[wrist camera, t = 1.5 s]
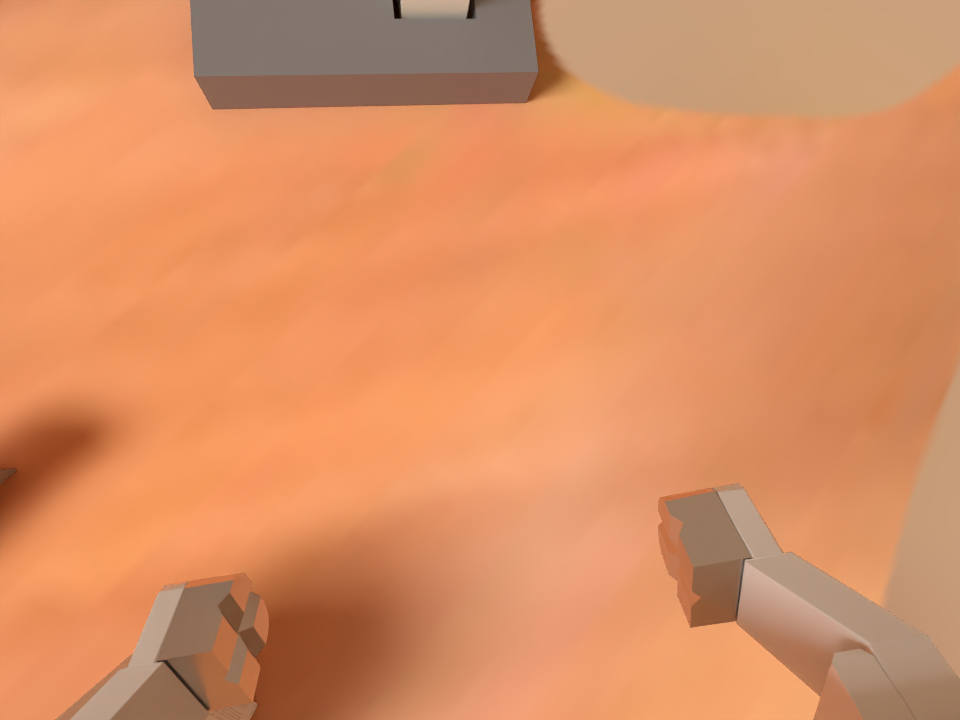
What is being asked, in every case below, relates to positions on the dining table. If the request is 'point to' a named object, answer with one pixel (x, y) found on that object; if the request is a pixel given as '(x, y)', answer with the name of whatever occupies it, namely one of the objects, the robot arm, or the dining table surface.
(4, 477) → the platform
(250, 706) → the supplement box
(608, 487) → the dining table surface
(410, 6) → the cream plug
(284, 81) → the block
